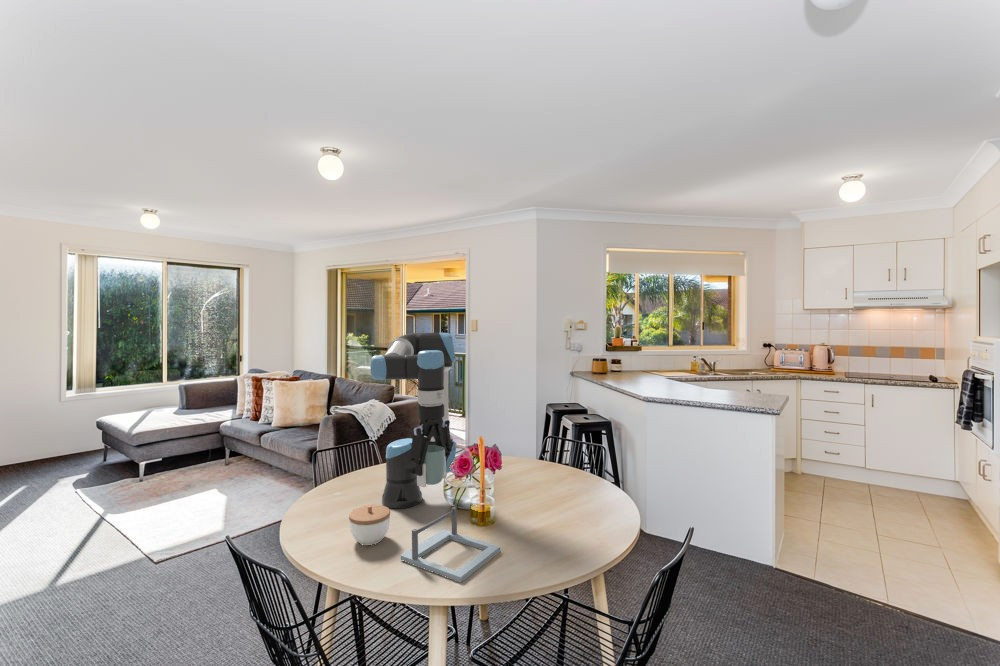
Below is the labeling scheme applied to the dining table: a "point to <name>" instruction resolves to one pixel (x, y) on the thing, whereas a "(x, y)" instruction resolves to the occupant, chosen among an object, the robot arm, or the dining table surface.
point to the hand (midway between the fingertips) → (432, 481)
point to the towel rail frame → (440, 538)
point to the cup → (434, 464)
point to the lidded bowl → (369, 523)
